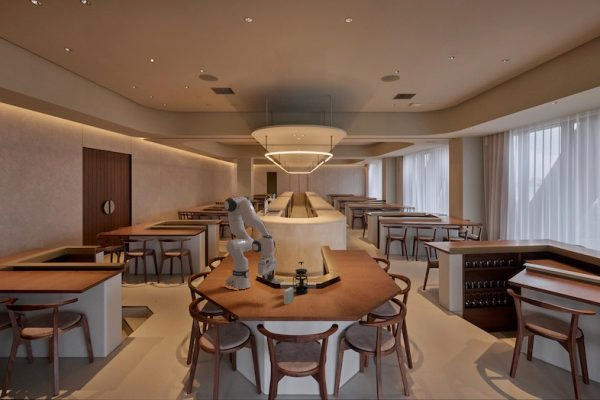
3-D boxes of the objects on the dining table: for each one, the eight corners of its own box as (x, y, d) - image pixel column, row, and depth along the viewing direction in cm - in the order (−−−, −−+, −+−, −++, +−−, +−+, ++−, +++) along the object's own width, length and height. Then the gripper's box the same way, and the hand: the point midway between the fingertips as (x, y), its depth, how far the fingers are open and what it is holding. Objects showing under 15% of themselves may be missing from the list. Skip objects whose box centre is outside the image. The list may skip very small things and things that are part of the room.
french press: (307, 290, 238) (307, 260, 237) (309, 294, 228) (309, 263, 227) (292, 291, 236) (291, 261, 235) (294, 295, 226) (293, 264, 226)
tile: (283, 304, 209) (283, 291, 209) (290, 299, 217) (290, 287, 217) (287, 304, 208) (287, 291, 208) (293, 300, 216) (293, 287, 216)
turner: (261, 280, 218) (261, 275, 218) (265, 278, 224) (265, 273, 224) (279, 283, 212) (279, 277, 212) (283, 281, 217) (283, 275, 217)
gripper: (271, 255, 229) (272, 273, 230) (256, 261, 211) (256, 281, 212) (279, 256, 227) (279, 274, 227) (263, 262, 208) (264, 282, 209)
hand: (268, 278), depth 219 cm, fingers closed on turner, 3 cm apart
